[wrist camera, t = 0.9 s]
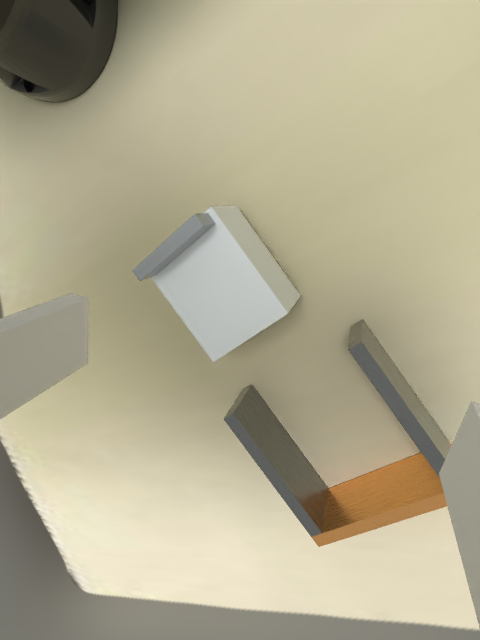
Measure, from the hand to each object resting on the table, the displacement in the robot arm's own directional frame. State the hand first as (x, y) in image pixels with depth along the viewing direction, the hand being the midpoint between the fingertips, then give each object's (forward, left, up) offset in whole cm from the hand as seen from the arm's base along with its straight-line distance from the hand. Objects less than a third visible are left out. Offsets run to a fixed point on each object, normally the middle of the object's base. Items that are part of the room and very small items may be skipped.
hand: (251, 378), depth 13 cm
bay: (+13, -7, -23) cm, 28 cm away
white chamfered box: (-4, -7, -23) cm, 25 cm away
